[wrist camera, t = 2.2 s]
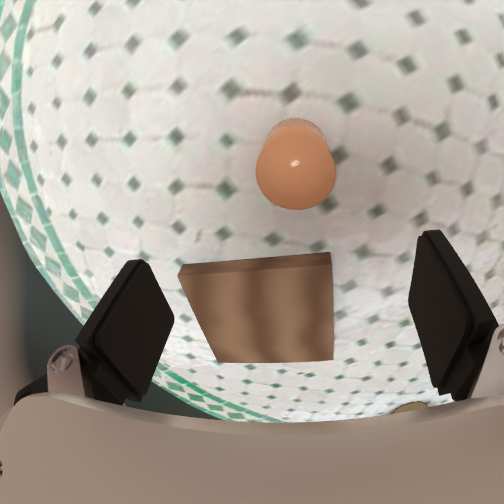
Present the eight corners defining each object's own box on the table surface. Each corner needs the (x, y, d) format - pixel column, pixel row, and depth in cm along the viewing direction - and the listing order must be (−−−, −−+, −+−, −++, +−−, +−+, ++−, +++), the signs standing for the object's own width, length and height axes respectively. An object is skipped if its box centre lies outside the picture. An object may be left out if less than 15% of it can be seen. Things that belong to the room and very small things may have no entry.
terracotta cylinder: (321, 114, 21) (331, 131, 16) (328, 170, 24) (338, 206, 18) (261, 122, 23) (248, 141, 17) (272, 177, 25) (263, 213, 20)
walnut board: (330, 252, 29) (331, 264, 27) (332, 348, 37) (333, 360, 36) (183, 264, 32) (177, 275, 31) (220, 351, 41) (218, 362, 39)
